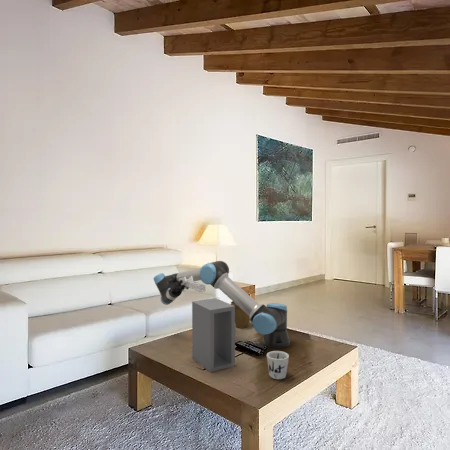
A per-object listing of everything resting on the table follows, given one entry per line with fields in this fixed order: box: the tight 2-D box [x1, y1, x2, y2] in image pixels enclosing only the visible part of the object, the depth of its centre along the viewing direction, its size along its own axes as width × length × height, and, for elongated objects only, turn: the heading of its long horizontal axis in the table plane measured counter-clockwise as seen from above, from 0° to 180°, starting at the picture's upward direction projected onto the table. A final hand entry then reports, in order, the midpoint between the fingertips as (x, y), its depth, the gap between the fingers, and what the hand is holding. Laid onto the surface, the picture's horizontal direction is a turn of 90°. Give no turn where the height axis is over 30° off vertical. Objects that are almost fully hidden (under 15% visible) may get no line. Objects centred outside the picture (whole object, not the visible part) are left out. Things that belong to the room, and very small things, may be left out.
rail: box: [179, 278, 206, 293], centre depth 211 cm, size 26×4×3 cm, turn 32°
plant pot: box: [230, 300, 251, 329], centre depth 249 cm, size 15×15×16 cm
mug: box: [266, 350, 290, 380], centre depth 179 cm, size 10×15×10 cm
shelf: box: [191, 297, 236, 373], centre depth 192 cm, size 19×14×30 cm
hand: (188, 278), depth 214 cm, fingers closed on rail, 3 cm apart
